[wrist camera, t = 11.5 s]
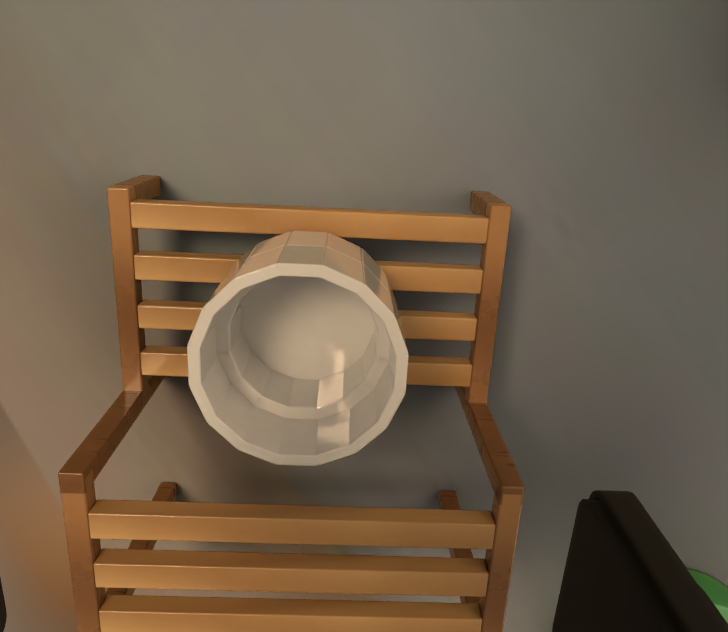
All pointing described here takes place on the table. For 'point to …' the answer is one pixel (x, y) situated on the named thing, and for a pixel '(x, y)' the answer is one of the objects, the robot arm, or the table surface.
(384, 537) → the rack
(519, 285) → the table surface
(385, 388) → the white cup
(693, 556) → the table surface
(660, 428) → the table surface
